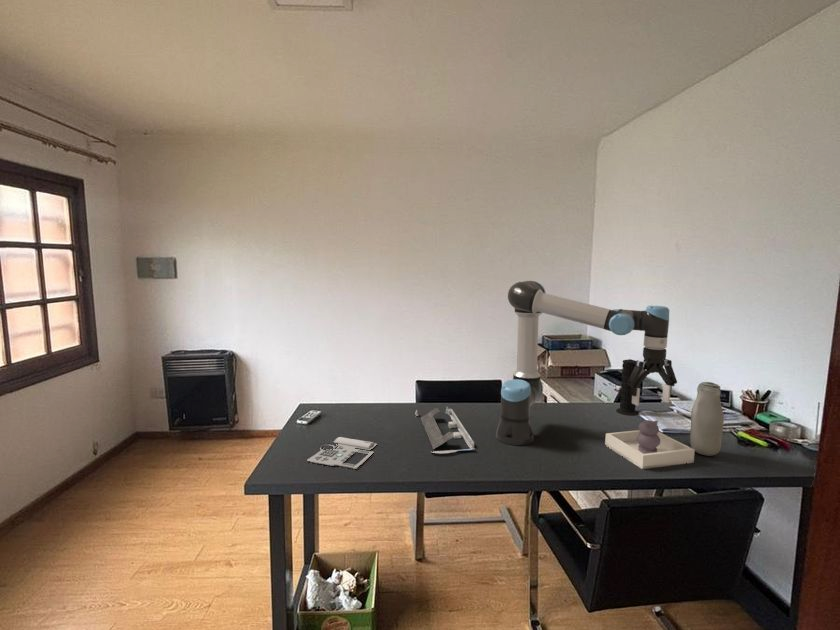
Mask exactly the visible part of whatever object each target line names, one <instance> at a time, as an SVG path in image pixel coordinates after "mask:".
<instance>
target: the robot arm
mask: <svg viewBox="0 0 840 630" xmlns="http://www.w3.org/2000/svg"><path fill="white" fill-rule="evenodd" d="M507 300H508V302H509V305H510V306H512V307H513V308H514V314H515V315H517V352H516V353H517V355H516V370H515V371H514V372H513V373H512V374H513V376H512V379H511V380H510V379H509V380H506V381H504V382H503V383H502V386H501V389H500V420H499V423H498V425H497V427H496V432H495V438H496V439H497V440H498V441H499V442H501V443H504V444H508V445H513V446H524V445H529V444H531V443H532V442H533V441H534V432H533V428H532V425H531V422H530V414H531V413H530V412H531V408H530V407H531V406H532V405H534V404H535V403H536V402H538V401H539V400H540V398H541V397H542V395H543V392H544V386H543V382H542V381H541V373H540V372H539V371H538V351H539V349H538V348H539V347H538V346H539V320H540V319H539V317H540V316H541V315H542V314H545V315H546V314H547V315H550V316H554V317H557V318H561V319H564V320H568V321H571V322H576V323H580V324H583V325H587V326H589V327H595V328H599V329H601V330H605V331H608V332H612V334H614V335H617V336H626V335H628V334H631V332H632V331H641V332H644V335H643V336H644V337H643V346H644V347H643V349H642V356H643V361H641V360H635V361H636V364H635V367H634V369H633V371H632V373H631V375H630V377H629V380H628V382H627V385H629V386H631V395H632V404H635V405H636V406H639V405H640V393H641V388H639V386H640V385H641V384H642V382H643V381H644V380H645V379H646V378H647V377H648V375H650V374H653V373H658V375H659V376H660V377H661V378H662V381H663V382H664V383H663V384H662V385H663V386H662V397H661V402H664V403H667V404H670V399H671V394H672V391H673V390H672V388H673V387H675V385H676V384H678V380H677V376H676V374H675V371H674V368H673V366H672V365H673V363H672V360H671V359H667V349H666V348H667V347H668V334H669V325H670V309H669V307H667V306H663V305H647V306H646V308H645V310H635V309H622V308H620V309H609V308H605V307H601V306H597V305H594V304H589V303H585V302H582V301H577V300H574V299H570V298H566V297H562V296H557V295H553V294H549V293H547V292H546V289H545V288H544V286H543V285H542V284H541V283H539V282H538V281H534V280H524V281H518V282H516V283H513V284H512V285H511V286H510V288H509V289H508V292H507Z"/></svg>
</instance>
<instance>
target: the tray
mask: <svg viewBox="0 0 840 630" xmlns="http://www.w3.org/2000/svg"><path fill="white" fill-rule="evenodd" d="M638 433H640V431H639V429H638V430H628V431H627V430H626V431H625V430H624V431H617V432H607V433H605V440H604V445H606V446H605V447H607V448H608V447H609V450H611V449H612V450H611V451H613V452H615V453H616V454H618V455H619V456H621V457H622V456H623V459H626V460H627V461H629V462H630V463H632V464H634V465H635V466H637V467H638V468H640V469H641V470H646V469H647V470H648V469H655V468H662V467H663V468H664V467H671V466H677V465H685V464H686V463H687V464H693V463H694V462H695V453H696V452H695V449H693V448H692V447H691V446H688V445H687V444H684V443H682V442H680V441H678V440H676V439H674V438H672V437H670V436H669V435H666V434H664V433H662V432H660V431H658V433H657V435H658V436H659V438H660V444H659V445H658V446H657V447H656V448H657V452H655V453H647V454H644V453H641V452H640V451H639V450H638V446H639V445H640V444H639V443H638V442H637V439H636V437H637V435H638ZM687 464H686V465H687Z"/></svg>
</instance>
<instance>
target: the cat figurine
mask: <svg viewBox="0 0 840 630" xmlns="http://www.w3.org/2000/svg"><path fill="white" fill-rule="evenodd" d="M658 423H659V420H655V421H653V420H650V419H649V420H647V419H645V420H642V421H640V423H639V425H638V430H639V431H640V433H638V435H637V437H636V439H637V442H638V443H639V444H640V445H639V446H638V450H639V451H640V452H641V453H644V454H647V453H655V452H657V448H656V447H657V446H658V445H659V444H660V438H659V436H658V435H657V433H658V432H660V430H659V429H660V428H659V426H658Z"/></svg>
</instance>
